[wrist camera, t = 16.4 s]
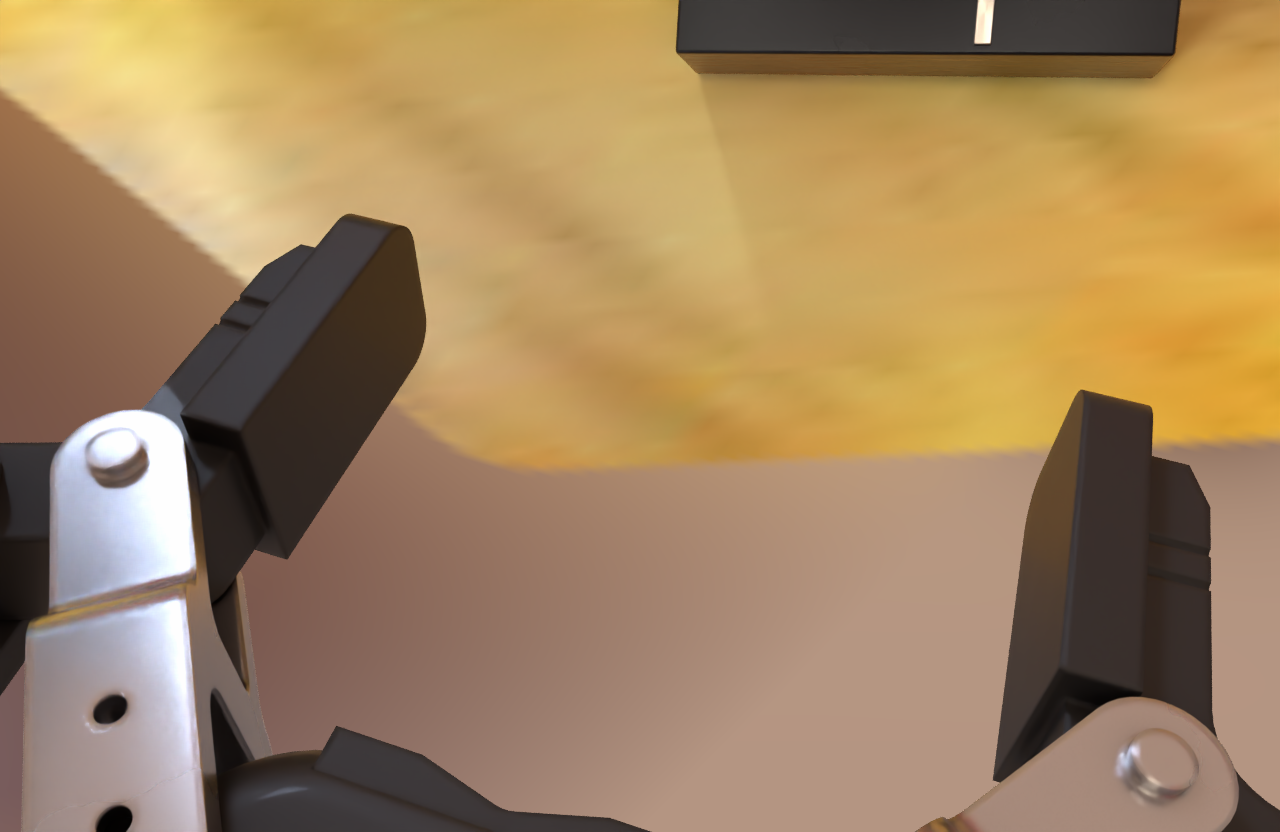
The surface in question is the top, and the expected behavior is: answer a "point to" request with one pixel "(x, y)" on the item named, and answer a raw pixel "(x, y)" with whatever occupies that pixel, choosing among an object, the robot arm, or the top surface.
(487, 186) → the top surface
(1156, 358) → the top surface
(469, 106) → the top surface
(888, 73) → the black flat block
